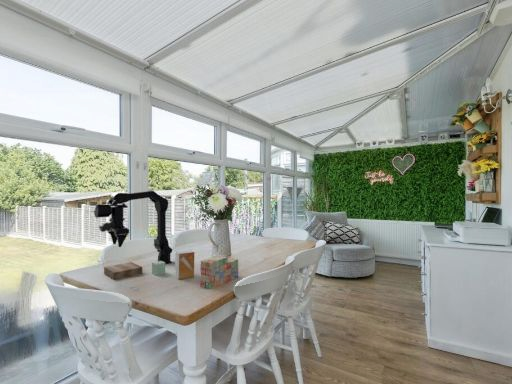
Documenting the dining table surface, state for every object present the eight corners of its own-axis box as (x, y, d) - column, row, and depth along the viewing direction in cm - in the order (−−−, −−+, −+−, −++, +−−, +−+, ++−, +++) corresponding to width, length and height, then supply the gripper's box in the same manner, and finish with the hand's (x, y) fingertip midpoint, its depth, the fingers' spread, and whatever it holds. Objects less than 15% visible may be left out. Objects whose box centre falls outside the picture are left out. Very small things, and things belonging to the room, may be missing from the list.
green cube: (160, 271, 141) (160, 260, 141) (165, 273, 137) (165, 262, 137) (151, 273, 137) (151, 262, 137) (156, 276, 134) (156, 264, 134)
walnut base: (131, 269, 146) (131, 262, 146) (142, 274, 137) (142, 267, 137) (103, 274, 136) (104, 267, 136) (113, 281, 127) (113, 272, 127)
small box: (178, 279, 128) (179, 253, 128) (174, 276, 133) (175, 251, 134) (194, 277, 133) (194, 251, 133) (190, 273, 138) (190, 249, 138)
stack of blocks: (229, 274, 138) (229, 251, 138) (238, 277, 134) (238, 253, 134) (200, 286, 119) (200, 260, 120) (210, 289, 116) (210, 262, 116)
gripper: (95, 216, 139) (95, 244, 139) (105, 218, 126) (105, 250, 126) (118, 214, 147) (117, 242, 147) (129, 217, 134) (129, 247, 134)
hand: (117, 245), depth 138 cm, fingers open, 9 cm apart
